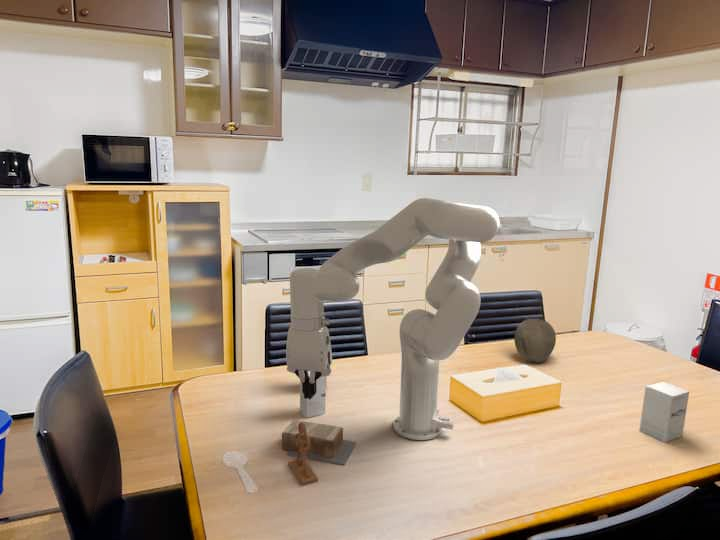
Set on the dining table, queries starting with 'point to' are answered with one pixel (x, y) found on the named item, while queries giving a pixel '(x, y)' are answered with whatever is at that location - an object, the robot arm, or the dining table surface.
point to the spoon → (240, 468)
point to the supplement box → (664, 411)
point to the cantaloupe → (535, 339)
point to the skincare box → (314, 399)
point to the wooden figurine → (302, 459)
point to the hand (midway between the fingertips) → (309, 396)
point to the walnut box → (314, 438)
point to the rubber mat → (338, 459)
